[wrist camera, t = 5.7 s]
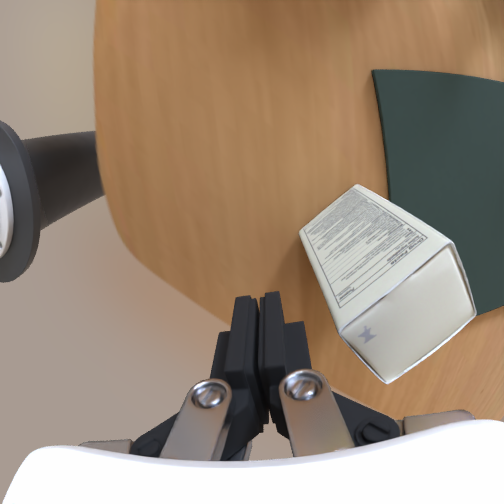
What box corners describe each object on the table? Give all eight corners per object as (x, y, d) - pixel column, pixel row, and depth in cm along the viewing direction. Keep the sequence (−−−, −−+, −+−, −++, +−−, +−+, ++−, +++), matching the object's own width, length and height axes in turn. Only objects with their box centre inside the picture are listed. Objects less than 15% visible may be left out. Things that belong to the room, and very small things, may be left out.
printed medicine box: (334, 277, 20) (380, 390, 10) (295, 230, 18) (326, 333, 9) (394, 231, 18) (481, 317, 9) (360, 179, 17) (453, 237, 8)
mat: (385, 340, 22) (387, 343, 21) (371, 70, 14) (373, 69, 14) (516, 297, 20) (518, 299, 20) (527, 88, 13) (530, 89, 12)
